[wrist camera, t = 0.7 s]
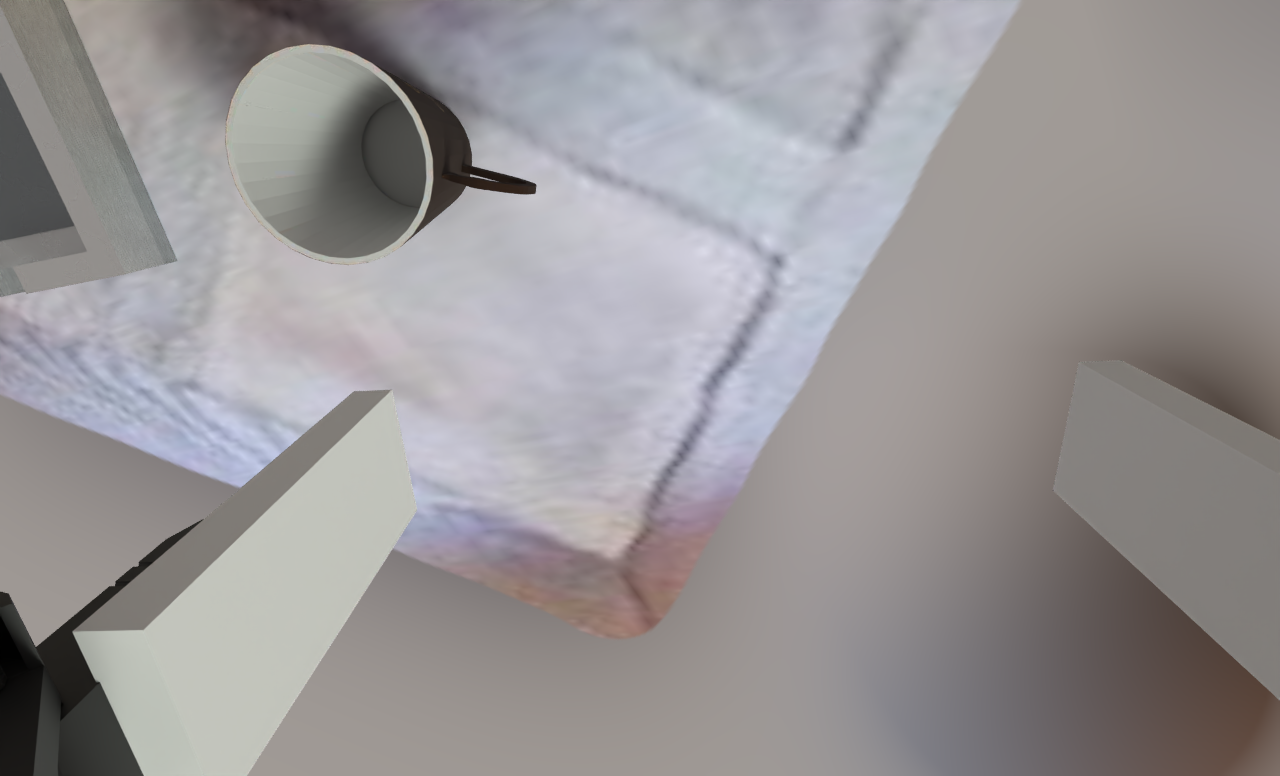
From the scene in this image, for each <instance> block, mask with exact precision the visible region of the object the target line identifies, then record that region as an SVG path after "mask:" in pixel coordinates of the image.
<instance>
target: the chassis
mask: <svg viewBox="0 0 1280 776" xmlns="http://www.w3.org/2000/svg"><path fill="white" fill-rule="evenodd" d="M175 261H177V260H176V258H175V255H174V253H173V251H172V248H171V246H170V244H169V242H168V239H167V237H166V235H165V232H164V230H163V228H162V225H161V223H160V221H159V219H158V216H157V214H156V212H155V209H154V207H153V205H152V203H151V200H150V198H149V196H148V193H147V191H146V189H145V187H144V184H143V182H142V180H141V177H140V175H139V173H138V171H137V168H136V166H135V164H134V161H133V159H132V157H131V155H130V152H129V150H128V148H127V145H126V143H125V141H124V138H123V136H122V134H121V132H120V129H119V127H118V125H117V122H116V120H115V118H114V116H113V113H112V111H111V109H110V106H109V104H108V102H107V100H106V97H105V95H104V93H103V90H102V88H101V86H100V84H99V81H98V79H97V77H96V74H95V72H94V70H93V68H92V65H91V63H90V61H89V58H88V56H87V54H86V51H85V49H84V47H83V45H82V42H81V40H80V38H79V35H78V33H77V31H76V29H75V26H74V24H73V22H72V19H71V17H70V15H69V13H68V10H67V8H66V6H65V3H64V1H63V0H0V297H3V296H7V295H11V294H16V293H21V292H26V294H28V293H33V292H38V291H43V290H48V289H53V288H58V287H63V286H68V285H73V284H78V283H83V282H88V281H94V280H99V279H104V278H109V277H114V276H119V275H124V274H128V273H132V272H136V271H140V270H144V269H148V268H152V267H156V266H160V265H164V264H168V263H171V262H175Z"/></svg>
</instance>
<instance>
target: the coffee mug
mask: <svg viewBox="0 0 1280 776" xmlns="http://www.w3.org/2000/svg"><path fill="white" fill-rule="evenodd" d="M225 143H226V150H227V157H228V163H229V167H230V170H231V173H232V176H233V179H234V182H235V185H236V187H237V188H238V190H239V192H240V194H241V196H242V198H243V200H244V202H245V204H246V205H247V207H248V208H249V209H250V211H251V212H252V213H253V215H254V216H255V217H256V219H257V220H258V221H259V222H260V223H261V224H262V225H263V226H264V227H265V228H266V229H267V230H268V231H269V232H270V233H271V234H272V235H273V236H274V237H275V238H277V239H278V240H279V241H281V242H282V243H284V244H285V245H287V246H288V247H289V248H291V249H292V250H295V251H297V252H299V253H301V254H303V255H305V256H307V257H309V258H312V259H316V260H319V261H323V262H327V263H331V264H344V265H353V264H361V263H368V262H371V261H374V260H377V259H380V258H382V257H385V256H387V255H388V254H390V253H392V252H393V251H395V250H396V249H398V248H400V247H401V246H402V245H403V244H405V243H406V242H407V241H408V240H409V239H411V238H412V237H413V236H414V235H415V234H417V233H418V232H419V231H420V230H421V229H422V228H424V227H425V226H426V225H427V224H428V223H430V222H431V221H432V220H433V219H434V218H436V217H437V216H438V215H439V214H440V213H441V212H443V211H444V210H445V209H446V208H447V207H449V206H450V205H451V204H452V203H453V202H454V201H455V200H456V199H457V198H458V197H459V196H460V195H461V194H462V192H463V190H464V189H465V187H466V186H469V187H472V188H477V189H483V190H490V191H498V192H505V193H514V194H535V193H536V184H535V183H532V182H529V181H526V180H523V179H520V178H516V177H512V176H509V175H505V174H501V173H497V172H493V171H489V170H485V169H481V168H477V167H473V166H472V152H471V148H470V143H469V139H468V137H467V134H466V132H465V129H464V128H463V126H462V125H461V123H460V121H459V120H458V118H457V117H456V116H455V115H454V114H453V113H452V112H451V110H450V109H448V108H447V107H446V106H445V105H443V104H442V103H441V102H439V101H437V100H436V99H434V98H432V97H431V96H429V95H427V94H425V93H424V92H422V91H420V90H418V89H417V88H415V87H413V86H411V85H410V84H408V83H406V82H404V81H403V80H401V79H399V78H398V77H396V76H394V75H392V74H391V73H389V72H387V71H385V70H384V69H382V68H380V67H378V66H377V65H375V64H373V63H371V62H370V61H368V60H366V59H364V58H362V57H360V56H358V55H356V54H354V53H352V52H350V51H346V50H343V49H339V48H336V47H333V46H328V45H315V44H305V45H298V46H292V47H287V48H284V49H282V50H279V51H277V52H275V53H272V54H270V55H268V56H267V57H265V58H264V59H263V60H261V61H260V62H258V63H257V64H256V65H254V66H253V67H252V68H251V70H250V71H249V72H248V73H247V74H246V76H245V77H244V78H243V79H242V80H241V82H240V83H239V85H238V87H237V89H236V91H235V93H234V96H233V98H232V100H231V103H230V107H229V111H228V115H227V119H226V138H225ZM470 174H472V175H476V176H480V177H483V178H487V179H491V180H495V181H489V180H485V179H480V178H475V177H470ZM496 181H499V182H496Z"/></svg>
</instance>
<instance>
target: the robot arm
mask: <svg viewBox="0 0 1280 776" xmlns="http://www.w3.org/2000/svg"><path fill="white" fill-rule="evenodd" d="M1053 491H1054V492H1055V493H1056V494H1057V495H1058V496H1059V497H1060V498H1062V499H1063V500H1064V501H1065V502H1066V503H1067V504H1068V505H1069V506H1070V507H1071V508H1072V509H1073V510H1075V511H1076V512H1077V513H1078V514H1079V515H1080V516H1081V517H1082V518H1083V519H1084V520H1085V521H1086V522H1088V523H1089V524H1090V525H1091V526H1092V527H1093V528H1094V529H1095V530H1096V531H1097V532H1098V533H1099V534H1101V535H1102V536H1103V537H1104V538H1105V539H1106V540H1107V541H1108V542H1109V543H1110V544H1111V545H1112V546H1113V547H1115V548H1116V549H1117V550H1118V551H1119V552H1120V553H1121V554H1122V555H1123V556H1124V557H1126V559H1128V560H1129V561H1130V562H1131V563H1132V564H1133V565H1134V566H1135V567H1136V568H1137V569H1138V570H1139V571H1140V572H1142V573H1143V574H1144V575H1145V576H1146V577H1147V578H1148V579H1149V580H1150V581H1151V582H1152V583H1153V584H1155V585H1156V586H1157V587H1158V588H1159V589H1160V590H1161V591H1162V592H1163V593H1164V594H1165V595H1166V596H1168V597H1169V598H1170V599H1171V600H1172V601H1173V602H1174V603H1175V604H1176V605H1177V606H1178V607H1179V608H1180V609H1182V610H1183V611H1184V612H1185V613H1186V614H1187V615H1188V616H1189V617H1190V618H1191V619H1192V620H1193V621H1195V622H1196V623H1197V624H1198V625H1199V626H1200V627H1201V628H1202V629H1203V630H1205V632H1206V633H1207V634H1209V635H1210V636H1211V637H1212V638H1213V639H1214V640H1215V641H1216V642H1217V643H1218V644H1220V646H1222V647H1223V648H1224V649H1225V650H1226V651H1227V652H1228V653H1229V654H1230V655H1232V657H1233V658H1235V659H1236V660H1237V661H1238V662H1239V663H1240V664H1241V665H1242V666H1243V667H1244V668H1245V669H1246V670H1248V671H1249V672H1250V673H1251V674H1252V675H1253V676H1254V677H1255V678H1256V679H1257V680H1258V681H1259V682H1260V683H1262V684H1263V685H1264V686H1265V687H1266V688H1267V689H1268V690H1269V691H1270V692H1271V693H1272V694H1274V695H1275V696H1276V697H1277V698H1278V699H1279V700H1280V440H1278V439H1276V438H1274V437H1272V436H1270V435H1268V434H1266V433H1264V432H1262V431H1260V430H1258V429H1256V428H1254V427H1252V426H1250V425H1248V424H1246V423H1244V422H1242V421H1240V420H1238V419H1236V418H1235V417H1233V416H1230V415H1229V414H1227V413H1224V412H1223V411H1221V410H1218V409H1217V408H1215V407H1212V406H1211V405H1209V404H1207V403H1205V402H1203V401H1201V400H1199V399H1197V398H1194V397H1193V396H1191V395H1189V394H1187V393H1185V392H1183V391H1181V390H1179V389H1177V388H1175V387H1173V386H1171V385H1169V384H1167V383H1165V382H1163V381H1161V380H1159V379H1157V378H1155V377H1153V376H1151V375H1149V374H1147V373H1145V372H1143V371H1141V370H1139V369H1137V368H1135V367H1133V366H1131V365H1129V364H1127V363H1125V362H1123V361H1121V360H1120V361H1097V362H1096V361H1095V362H1079V364H1078V369H1077V374H1076V380H1075V384H1074V389H1073V394H1072V399H1071V404H1070V409H1069V414H1068V419H1067V424H1066V428H1065V434H1064V438H1063V444H1062V448H1061V453H1060V458H1059V463H1058V468H1057V473H1056V478H1055V483H1054V488H1053ZM416 511H417V507H416V503H415V498H414V493H413V488H412V483H411V479H410V474H409V469H408V464H407V460H406V455H405V450H404V445H403V440H402V436H401V431H400V426H399V421H398V417H397V412H396V407H395V402H394V397H393V393H392V390H377V391H354V392H353V393H352V394H350V395H349V396H348V397H347V398H346V399H345V400H343V401H342V402H341V403H340V404H339V405H337V406H336V407H335V408H334V409H333V410H332V411H330V412H329V413H328V414H327V415H326V416H325V417H323V418H322V419H321V420H320V421H319V422H318V423H316V424H315V425H314V426H313V427H312V428H310V429H309V430H308V431H307V432H306V433H305V434H303V435H302V436H301V437H300V438H299V439H298V440H296V441H295V442H294V443H293V444H292V445H291V446H289V447H288V448H287V449H286V450H285V451H284V452H282V453H281V454H280V455H279V456H278V457H276V458H275V459H274V460H273V461H272V462H271V463H269V464H268V465H267V466H266V467H265V468H264V469H262V470H261V471H260V472H259V473H258V474H257V475H255V476H254V477H253V478H252V479H251V480H250V481H248V482H247V483H246V484H245V485H244V486H242V487H241V488H240V489H239V490H238V491H237V492H235V493H234V494H233V495H232V496H231V497H230V498H228V499H227V500H226V501H225V502H224V503H223V504H221V505H220V506H219V507H218V508H217V509H216V510H214V511H213V512H212V513H211V514H210V515H209V516H207V517H206V518H205V519H203V520H201V521H199V522H197V523H195V524H193V525H192V526H190V527H188V528H186V529H184V530H182V531H181V532H179V533H177V534H175V535H173V536H171V537H170V538H168V539H166V540H165V541H164V542H162V543H161V544H160V545H159V546H158V547H156V548H155V549H154V550H153V551H152V552H150V553H149V554H148V555H147V556H146V557H144V558H143V559H142V560H141V561H140V562H139V566H138V567H132V568H131V569H130V570H129V571H127V572H126V573H125V574H124V575H123V576H122V577H120V578H119V579H118V580H117V581H116V584H115V586H109V587H108V588H107V589H106V590H105V591H103V592H102V593H101V594H100V595H99V596H97V597H96V598H95V599H94V600H92V601H91V602H90V603H89V604H88V605H86V606H85V607H84V608H83V609H82V610H80V611H79V612H78V613H77V614H76V615H74V616H73V617H72V618H71V619H69V620H68V621H67V622H66V623H65V624H63V625H62V626H61V627H60V628H59V629H57V630H56V631H55V632H54V633H53V634H51V635H50V636H49V637H48V638H47V639H45V640H44V641H43V642H42V643H41V644H39V645H38V646H37V647H35V645H34V643H33V641H32V639H31V637H30V635H29V633H28V631H27V629H26V627H25V625H24V623H23V621H22V619H21V617H20V616H19V613H18V611H17V609H16V607H15V605H14V603H13V601H12V600H11V597H10V595H9V594H8V593H3V592H0V776H247V775H248V773H249V772H250V770H251V768H252V767H253V765H254V764H255V762H256V760H257V759H258V758H259V756H260V754H261V753H262V751H263V750H264V748H265V747H266V745H267V743H268V742H269V740H270V739H271V737H272V736H273V734H274V732H275V731H276V729H277V728H278V726H279V725H280V723H281V722H282V720H283V718H284V717H285V715H286V714H287V712H288V711H289V709H290V708H291V706H292V705H293V703H294V701H295V700H296V698H297V696H298V695H299V694H300V692H301V691H302V689H303V687H304V686H305V684H306V683H307V681H308V680H309V678H310V676H311V675H312V673H313V672H314V670H315V669H316V667H317V666H318V664H319V662H320V661H321V659H322V658H323V656H324V655H325V653H326V652H327V650H328V648H329V647H330V645H331V644H332V642H333V641H334V639H335V638H336V636H337V634H338V633H339V631H340V630H341V628H342V627H343V625H344V623H345V622H346V620H347V619H348V617H349V616H350V614H351V613H352V611H353V609H354V608H355V606H356V605H357V603H358V602H359V600H360V598H361V597H362V595H363V594H364V592H365V590H366V589H367V588H368V586H369V584H370V583H371V581H372V580H373V578H374V577H375V575H376V574H377V572H378V571H379V569H380V567H381V565H382V564H383V563H384V561H385V560H386V558H387V556H388V555H389V553H390V552H391V550H392V549H393V547H394V546H395V544H396V542H397V541H398V539H399V538H400V536H401V535H402V533H403V532H404V530H405V528H406V527H407V525H408V524H409V522H410V521H411V519H412V518H413V516H414V514H415V513H416Z"/></svg>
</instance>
